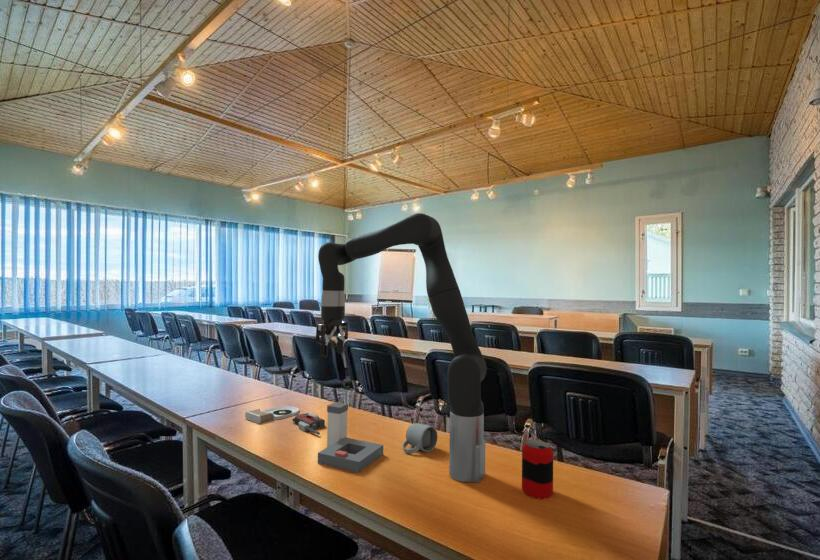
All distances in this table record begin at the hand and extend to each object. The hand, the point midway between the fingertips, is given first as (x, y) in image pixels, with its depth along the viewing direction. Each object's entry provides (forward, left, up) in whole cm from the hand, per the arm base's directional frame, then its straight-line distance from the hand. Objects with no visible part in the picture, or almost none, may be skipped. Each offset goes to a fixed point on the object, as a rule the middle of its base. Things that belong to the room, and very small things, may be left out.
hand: (332, 355), depth 133 cm
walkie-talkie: (+17, -12, -30) cm, 37 cm away
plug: (-1, -2, -29) cm, 29 cm away
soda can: (-64, +1, -30) cm, 70 cm away
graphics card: (+39, -17, -30) cm, 52 cm away
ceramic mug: (-26, -11, -30) cm, 41 cm away
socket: (-11, +5, -29) cm, 32 cm away
